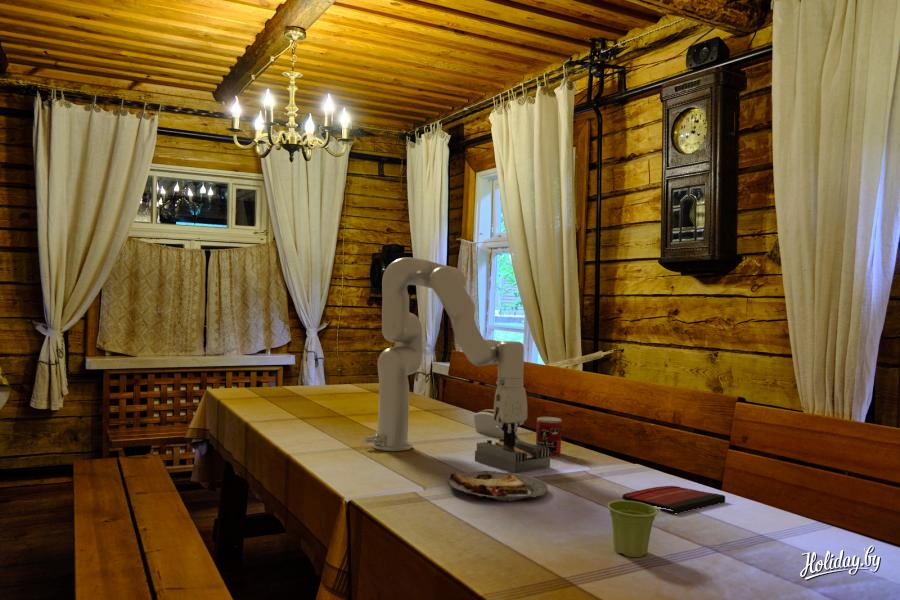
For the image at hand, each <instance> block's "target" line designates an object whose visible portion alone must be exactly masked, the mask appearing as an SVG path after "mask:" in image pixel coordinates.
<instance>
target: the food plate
mask: <svg viewBox="0 0 900 600" xmlns="http://www.w3.org/2000/svg"><path fill="white" fill-rule="evenodd" d="M447 484H448V486H449V487H450V488H452V490H456V491H459V492H462V493H464V494H467V495H469V494H470V495H472V496H474V497H475V498H476V497H479V498H482V497H486V498H487V499H493V500H497V501H502V502H507V501H508V502H512V501H515V500H522V499H529V498H535V497H538V496H539V497H540V496H544V495H545V494H546V492H547V490H548V484H546V483H545V482H544V481H542V480H540V479H539V478H535V477H531V476H529V475H524V474H521V473H512V472H505V471H504V472H502V471H497V470H481V471H478V470H477V471H472V472H463V473H458V472H453V473H450V477H449V478H448V480H447ZM529 492H530V494H528V493H529Z"/></svg>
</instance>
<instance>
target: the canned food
mask: <svg viewBox="0 0 900 600" xmlns="http://www.w3.org/2000/svg"><path fill="white" fill-rule="evenodd" d="M562 420H563V419H561V418H559V417H554V416H539V417H536V433H535V436H536V437H535V445H538V446H542V447H545V448H549V457H557V456H556V455H558V456H560V455H559V454H561V450H562V448H561V447H562V431H563V430H562V427H563V424H562V423H563V421H562Z"/></svg>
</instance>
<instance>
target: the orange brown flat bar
mask: <svg viewBox="0 0 900 600" xmlns="http://www.w3.org/2000/svg"><path fill="white" fill-rule="evenodd" d="M494 445H497V446H501V447H504V448H508V449H512V450H515V451H519V452H525V451H523V450H520V449H518V448H516V447H514V446H512V447H509V446H506V445H504V442H503V441H502V442H499V441H496V442H495V444H494ZM525 453H527V452H525ZM528 455H531V454H529V453H527V456H528Z"/></svg>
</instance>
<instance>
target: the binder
mask: <svg viewBox="0 0 900 600" xmlns="http://www.w3.org/2000/svg"><path fill="white" fill-rule="evenodd" d="M622 499H623V500H625V501H635V502H641V503H645V504H648V505H651V506H657V507H661V508H666V509H671V510H673V512H672V514H675V513H680V512H684V511H688V510H692V509H696V510H698V509H697V508H700V509H703V508H702V507H704V508H707V507H706V506H708V507H711V506H710V505H712V506H715V504H716V505H719V503H720V504H725V503H726V495H725V494H718V493H711V492H706V491H702V490H701V491H700V490H697V489H696V490H695V489H691V488H686V487H681V486H677V485H676V486H675V485H663V486H656V487H651V488H650V487H649V488H644V489H639V490H635V491H631V492H627V493H624V494H622ZM724 502H725V503H724ZM692 511H693V510H692ZM688 512H689V511H688ZM684 513H685V512H684ZM672 514H671V515H672ZM680 514H681V513H680Z"/></svg>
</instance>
